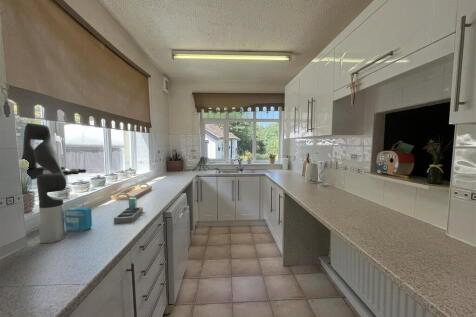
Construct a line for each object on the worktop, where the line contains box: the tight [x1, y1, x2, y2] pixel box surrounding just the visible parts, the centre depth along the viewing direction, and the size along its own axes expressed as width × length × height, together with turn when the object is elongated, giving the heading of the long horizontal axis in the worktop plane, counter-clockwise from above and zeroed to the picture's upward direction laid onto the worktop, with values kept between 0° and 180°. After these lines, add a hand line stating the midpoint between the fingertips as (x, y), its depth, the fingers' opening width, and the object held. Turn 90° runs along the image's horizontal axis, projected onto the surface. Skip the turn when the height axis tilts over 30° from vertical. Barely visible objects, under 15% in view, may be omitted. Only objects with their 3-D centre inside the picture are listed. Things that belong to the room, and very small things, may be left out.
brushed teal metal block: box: [128, 197, 138, 210], centre depth 152 cm, size 4×4×10 cm
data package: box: [64, 206, 93, 232], centre depth 125 cm, size 12×4×12 cm, turn 89°
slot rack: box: [113, 206, 144, 224], centre depth 146 cm, size 22×11×4 cm, turn 8°
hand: (82, 171), depth 145 cm, fingers open, 8 cm apart
